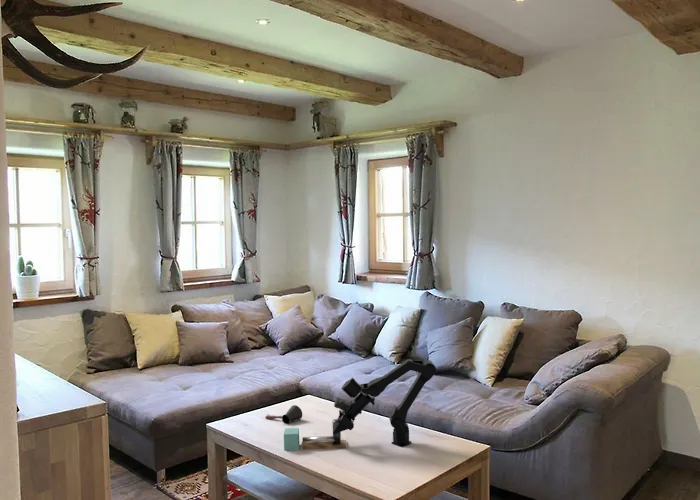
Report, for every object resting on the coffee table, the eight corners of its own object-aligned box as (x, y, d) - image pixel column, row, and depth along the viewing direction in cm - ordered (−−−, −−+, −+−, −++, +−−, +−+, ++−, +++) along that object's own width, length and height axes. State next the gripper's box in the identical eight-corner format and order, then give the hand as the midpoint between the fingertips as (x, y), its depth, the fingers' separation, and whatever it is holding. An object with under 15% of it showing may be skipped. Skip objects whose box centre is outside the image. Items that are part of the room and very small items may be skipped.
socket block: (299, 443, 253) (298, 427, 253) (298, 449, 246) (297, 433, 246) (285, 444, 253) (285, 428, 252) (284, 450, 246) (283, 434, 245)
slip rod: (340, 441, 251) (340, 419, 251) (340, 444, 248) (340, 421, 248) (307, 442, 251) (306, 420, 251) (306, 445, 248) (306, 422, 247)
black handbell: (304, 419, 283) (293, 427, 276) (277, 417, 294) (266, 425, 287) (300, 405, 282) (289, 412, 276) (274, 403, 293) (262, 411, 286)
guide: (346, 442, 253) (345, 435, 253) (346, 448, 246) (346, 441, 246) (302, 443, 253) (302, 436, 253) (301, 449, 246) (301, 442, 246)
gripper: (344, 385, 258) (320, 411, 258) (345, 398, 239) (319, 425, 240) (362, 402, 259) (338, 427, 259) (364, 416, 240) (338, 443, 240)
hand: (333, 430), depth 249 cm, fingers open, 6 cm apart
